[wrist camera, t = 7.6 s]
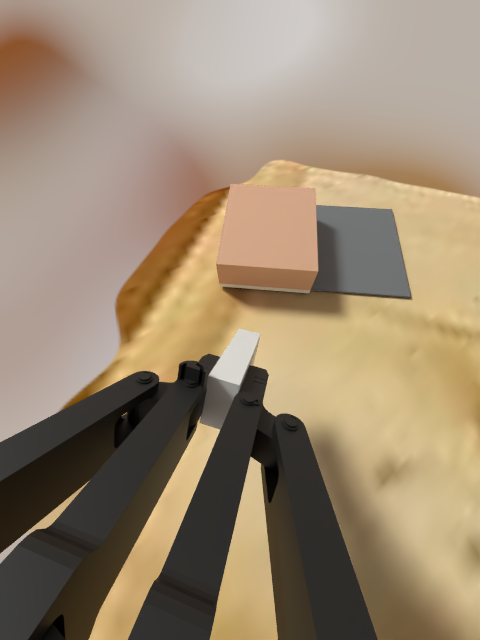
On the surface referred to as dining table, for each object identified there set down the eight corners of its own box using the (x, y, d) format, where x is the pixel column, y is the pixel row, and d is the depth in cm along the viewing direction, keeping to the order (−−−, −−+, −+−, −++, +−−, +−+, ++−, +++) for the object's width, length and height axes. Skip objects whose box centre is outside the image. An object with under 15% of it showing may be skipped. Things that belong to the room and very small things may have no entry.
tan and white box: (318, 271, 25) (315, 188, 30) (216, 264, 25) (230, 183, 31) (309, 293, 28) (307, 215, 34) (219, 286, 29) (232, 211, 34)
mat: (409, 298, 28) (410, 296, 28) (229, 284, 29) (229, 282, 29) (390, 211, 34) (391, 209, 34) (241, 202, 35) (241, 200, 35)
